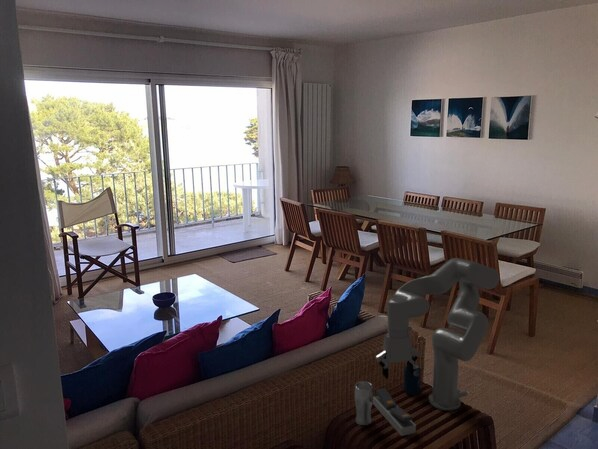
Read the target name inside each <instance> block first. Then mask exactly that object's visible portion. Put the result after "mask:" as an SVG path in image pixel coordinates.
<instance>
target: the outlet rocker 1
mask: <svg viewBox="0 0 598 449" xmlns="http://www.w3.org/2000/svg"><path fill="white" fill-rule="evenodd" d="M375 393H376V395H377V396H379V398H380V399H381V400H382V402H383V403H384V405H385V406H386V408H387V409H388V408H393V407H396V406H398V404H397V402H396V401H395V400H394V399H393V397H392V396H391V394H390V393H389V391H388V390H387V389H386V388H385V387H384V388H378V389H375Z"/></svg>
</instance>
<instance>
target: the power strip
mask: <svg viewBox="0 0 598 449" xmlns="http://www.w3.org/2000/svg"><path fill="white" fill-rule="evenodd" d="M372 405H374V407H375V408H376V409H377V411H379V413H380V414H382V415H383V417H384V418H385V420H386V421H387V422H388V423H389V424H390V425H391V426H392V428H393V429H395V431H396V432H397V433H398V434H399V435H400V436H401V437H403V436H409V435H412V434H416V432H417V425H416V424H415V423H414V422H413V420H410V421H405V422H403V421H402V420H400V419H399V418H398V417H396V416H395V415H394V414H392V413H391V412H390V409H392V408H388V409H387V408H386V406H385V405H384V403H383V402H382V400H381V399H380V398H379V396H378V395H377V396H373V401H372ZM397 407H399V406H398V405H397V406H396V407H393V408H397Z"/></svg>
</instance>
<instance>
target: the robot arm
mask: <svg viewBox="0 0 598 449" xmlns="http://www.w3.org/2000/svg"><path fill="white" fill-rule="evenodd" d="M499 281H500V275H499V272H498V270H497V269H495V268H493V267H489V266H488V265H485V264H482V263H479V262H476V261H471V260H469V259H463V258H459V257H452V258H450V259H448V260H447V261H446V262H445V263H443V264H442V265H441V266H440V267H439V268H437V269H436V270H435V271H434V272H433V273H431V274H430V275H425V276H422V277H418V278H415V279H412V280H410V281H407V282H406V283H404V284H403V285H402V286H400V287H399V288H398V289H397V290H396V291H395V292H394V294H393V295H392V297H391V298H389V299H388V301H387V333H386V334H385V335H384V339H383V345H382V346H383V347H382V352H380V353H379V354H377V355H376V356H374V357H375V359H376V361H377V363H378V364H379V366H381V367H382V368H381V373H382V376H383V377H384V378H385V379H389V368H388V367H389V366H390V364H396V363H404V362H406V364H407V372H408V373H409V374H410V375H412V371H413V364H414V363H416V361H417V360H418V359H419V356H420V354H421V352H420V350H418V349H416V348H414V347H413V344H412V343H413V342H412V338H411V335H410V331H413V329H412V328H413V327H412V326H410V325H409V324H410V318H418V317H422V316H424V315H426V314H427V313H428V312H429V310H430V302H429V301H428V299H427V298H425V297H423V296H424V295H425V296H426V295H432V296H433V295H442V294H445V293H447V292H448V291H449V290H450V289H451V288H452V287H454V286H455V285H456V284H457V283H459V291H458V295H457V297H456V298H455V300H454V302H453V304H452V306H451V308H450V310H449V312H448V315H447V317H446V321H447V324H448V325H449V326H450V327H452V328H453V329H456V330H458V331H461V332H464V333H465V334H463V333H460V332H458V331H456V330H453V329H450V328H447V327H439V328H437V329H435V331H433V333H432V337H431V343H432V350H433V373H432V374H433V379H432V393H430V394H429V396H428V403H429V404H430V405H431V406H432V407H434V408H435V409H438V410H442V411H454V410H458V409H460V407H461V404H462V402H461V398H462V397H463V398H464V397H467V396H468V393H467V391H466V390H464V391H461V390H460V389H458V382H459V380H458V378H459V360H460V361H464V362H468V361H471V360H472V359H473V357H474V356H475V355H476V353H477V351H478V349H479V347H480V345H481V343H482V341H483V339H484V337H485V336H486V335H485V334H486V333H487V330H488V328H489V319H488V317H487V315H486V314H484V313H483V312H481V311H478V310H477V308H478V306H479V303H480V299H481V298H480V297H481V296H480V294H479V290H478V288H481V289H485V290H492V289H495V288H496V287H497V285H498V284H499ZM382 359H383V360H382Z"/></svg>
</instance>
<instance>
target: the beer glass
mask: <svg viewBox="0 0 598 449" xmlns="http://www.w3.org/2000/svg"><path fill="white" fill-rule="evenodd" d="M373 397H374V390H373V384H372V383H371V382H370V381H365V380H361V381H358V382H356V383H355V384H354V404H355V409H356V417H355V423H356V424H357V425H358V426H361V425H367V426H369V424H370V425H372V414H371V411H372V406H373Z"/></svg>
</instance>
